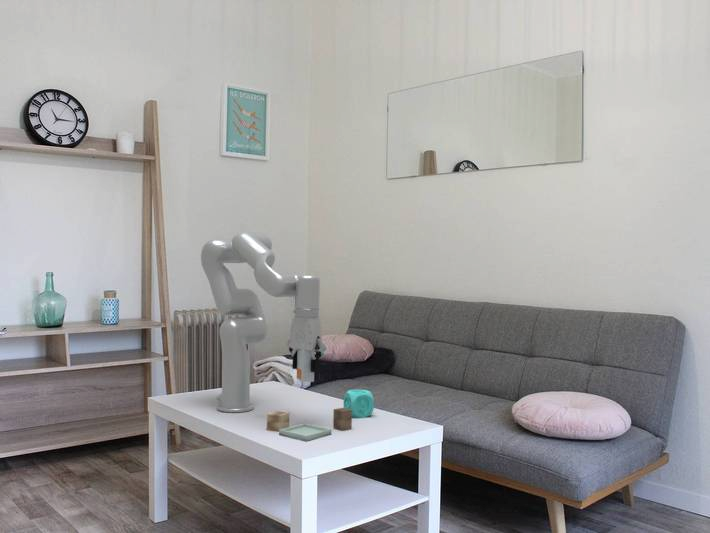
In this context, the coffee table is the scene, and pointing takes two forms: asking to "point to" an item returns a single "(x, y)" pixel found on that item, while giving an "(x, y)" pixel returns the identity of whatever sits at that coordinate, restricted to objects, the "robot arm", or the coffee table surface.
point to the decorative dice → (359, 402)
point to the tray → (305, 432)
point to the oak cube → (277, 420)
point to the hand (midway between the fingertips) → (305, 369)
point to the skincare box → (304, 366)
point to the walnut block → (342, 419)
